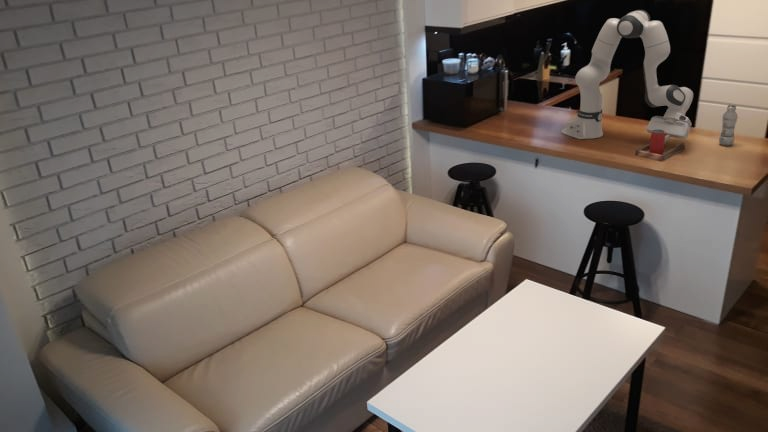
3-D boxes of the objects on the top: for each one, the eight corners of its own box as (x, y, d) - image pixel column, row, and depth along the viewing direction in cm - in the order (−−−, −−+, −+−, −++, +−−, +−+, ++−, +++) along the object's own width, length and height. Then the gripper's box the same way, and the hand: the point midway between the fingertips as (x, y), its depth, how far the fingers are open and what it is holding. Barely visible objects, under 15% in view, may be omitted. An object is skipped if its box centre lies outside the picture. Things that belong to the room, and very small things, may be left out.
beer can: (664, 156, 300) (666, 133, 294) (649, 156, 302) (652, 133, 296) (662, 151, 305) (664, 128, 300) (648, 151, 307) (650, 129, 302)
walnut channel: (635, 155, 305) (635, 150, 304) (657, 143, 317) (658, 138, 315) (662, 161, 295) (662, 156, 294) (684, 148, 307) (684, 143, 305)
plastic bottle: (734, 147, 302) (740, 108, 293) (718, 146, 304) (724, 108, 296) (732, 142, 307) (738, 104, 299) (717, 142, 310) (723, 104, 301)
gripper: (651, 112, 310) (639, 135, 309) (691, 118, 295) (679, 143, 294) (655, 118, 314) (643, 141, 313) (695, 125, 299) (682, 149, 298)
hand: (661, 142), depth 303 cm, fingers closed, pressing on beer can
